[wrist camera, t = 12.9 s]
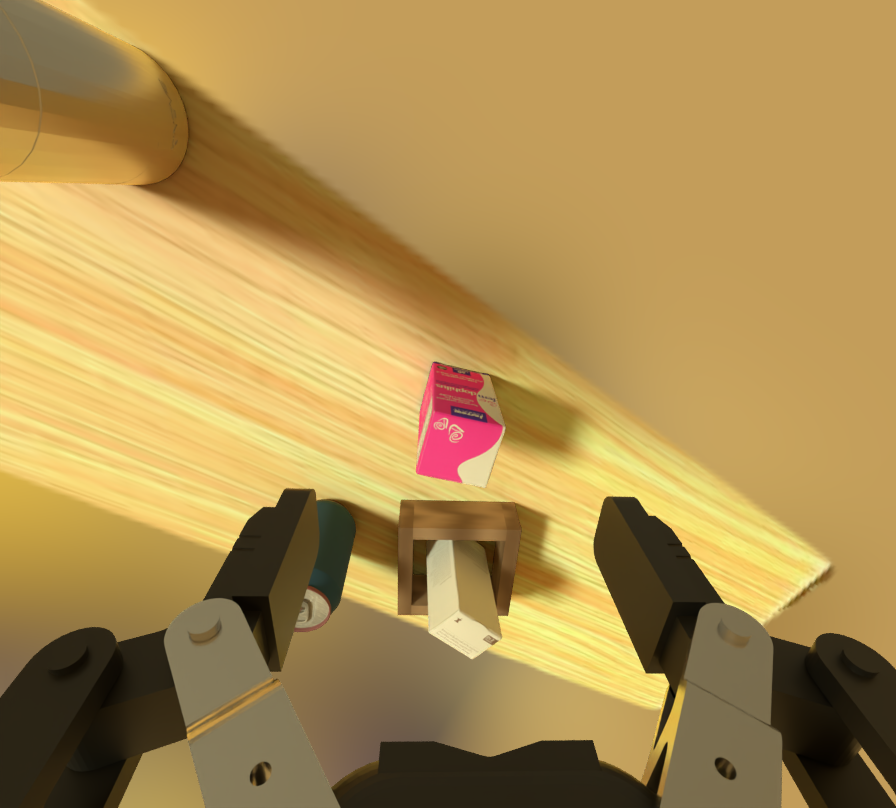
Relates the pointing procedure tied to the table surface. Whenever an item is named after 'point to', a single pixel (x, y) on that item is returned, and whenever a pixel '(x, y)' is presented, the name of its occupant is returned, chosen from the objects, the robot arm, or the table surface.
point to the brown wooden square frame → (456, 525)
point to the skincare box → (461, 596)
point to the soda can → (327, 565)
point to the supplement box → (459, 426)
